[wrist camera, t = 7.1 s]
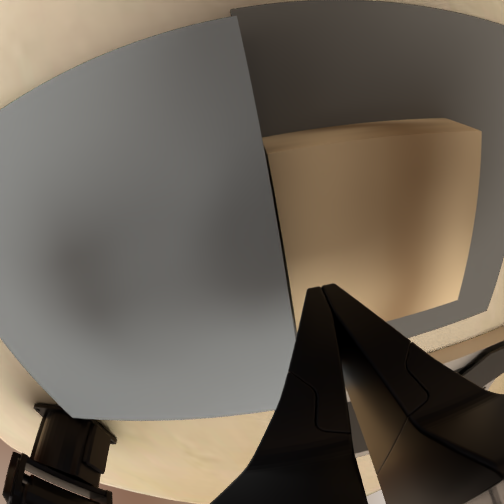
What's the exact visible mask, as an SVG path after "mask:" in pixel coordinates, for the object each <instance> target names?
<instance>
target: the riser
mask: <svg viewBox="0 0 504 504" xmlns="http://www.w3.org/2000/svg"><path fill="white" fill-rule="evenodd" d="M0 338H1V340H2V341H3V342H4V344H5V345H6V346H7V347H8V349H9V350H10V351H11V352H12V354H13V355H14V356H15V357H16V359H17V360H18V361H19V362H20V363H21V365H22V366H23V367H24V368H25V369H26V370H27V372H28V373H29V374H30V375H31V376H32V377H33V378H34V379H35V381H36V382H37V383H38V384H39V385H40V386H41V387H42V388H43V389H44V390H45V391H46V392H47V393H48V394H49V395H50V396H51V397H52V398H53V399H54V400H55V401H56V402H57V403H58V404H59V405H60V406H61V407H62V408H63V409H64V410H65V411H66V412H67V413H68V414H69V415H70V416H71V417H72V418H83V419H98V420H125V421H158V420H185V419H201V418H214V417H225V416H234V415H243V414H251V413H258V412H265V411H272V410H276V407H277V405H278V402H279V400H280V397H281V394H282V390H283V387H284V384H285V380H286V376H287V373H288V369H289V365H290V361H291V357H292V353H293V349H294V344H295V333H294V326H293V319H292V313H291V306H290V299H289V293H288V286H287V280H286V274H285V267H284V261H283V255H282V249H281V243H280V237H279V231H278V225H277V219H276V213H275V207H274V201H273V196H272V190H271V184H270V179H269V173H268V168H267V162H266V157H265V152H264V146H263V141H262V136H261V130H260V125H259V120H258V115H257V110H256V105H255V100H254V95H253V90H252V85H251V80H250V75H249V70H248V66H247V61H246V56H245V51H244V47H243V42H242V37H241V33H240V28H239V24H238V19H237V16H231V17H226V18H221V19H216V20H211V21H207V22H203V23H198V24H194V25H190V26H186V27H182V28H179V29H175V30H172V31H168V32H165V33H161V34H158V35H155V36H152V37H149V38H146V39H143V40H140V41H137V42H134V43H131V44H129V45H126V46H123V47H121V48H118V49H115V50H113V51H110V52H108V53H105V54H103V55H101V56H98V57H96V58H94V59H91V60H89V61H87V62H85V63H83V64H80V65H78V66H76V67H74V68H72V69H70V70H68V71H66V72H64V73H62V74H60V75H58V76H56V77H54V78H52V79H50V80H49V81H47V82H45V83H43V84H41V85H39V86H38V87H36V88H34V89H32V90H31V91H29V92H27V93H26V94H24V95H22V96H21V97H19V98H18V99H16V100H14V101H13V102H11V103H10V104H8V105H7V106H5V107H4V108H2V109H1V110H0Z"/></svg>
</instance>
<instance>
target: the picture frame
mask: <svg viewBox="0 0 504 504" xmlns="http://www.w3.org/2000/svg"><path fill="white" fill-rule="evenodd" d="M428 354H429V355H430V356H432V357H433V358H434V359H436V360H438V361H439V362H441V363H442V364H444V365H445V366H447V367H448V368H450V369H452V370H453V371H455V372H457V373H458V374H460V375H462V376H463V377H465V378H466V379H468V380H470V381H471V382H473V383H475V384H476V385H478V386H480V387H481V388H483V389H485V390H488V389H489V387H490V386H491V384H492V383H493V381H494V380H495V378H497V377H498V376H499V375H501V374H502V373H504V326H502V327H500V328H497V329H495V330H492V331H490V332H487V333H485V334H482V335H479V336H477V337H474V338H471V339H469V340H466V341H463V342H460V343H457V344H455V345H452V346H449V347H446V348H443V349H440V350H437V351H433V352H430V353H428ZM345 388H346V387H345ZM346 395H347V402H348V409H349V417H350V425H351V435H352V441H353V447H354V453H355V457H356V458H357V457H361V456H365V455H368V454H369V451H368V448H367V445H366V442H365V439H364V436H363V434H362V431H361V428H360V425H359V422H358V420H357V417H356V414H355V411H354V409H353V406H352V403H351V400H350V398H349V395H348V392H347V390H346Z"/></svg>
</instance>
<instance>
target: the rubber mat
mask: <svg viewBox="0 0 504 504" xmlns="http://www.w3.org/2000/svg"><path fill="white" fill-rule="evenodd" d="M230 13H231V16H237V19H238V24H239V28H240V33H241V37H242V42H243V47H244V51H245V56H246V61H247V66H248V70H249V75H250V80H251V85H252V90H253V95H254V100H255V105H256V110H257V115H258V120H259V125H260V130H261V136H262V137H268V136H273V135H279V134H285V133H291V132H297V131H304V130H310V129H317V128H325V127H332V126H340V125H349V124H358V123H368V122H379V121H392V120H407V119H427V118H447V119H450V120H453V121H455V122H458V123H461V124H464V125H467V126H469V127H472V128H475V129H477V130H480V131H482V142H481V164H480V178H479V188H478V198H477V206H476V213H475V220H474V227H473V233H472V238H471V244H470V249H469V254H468V259H467V264H466V268H465V272H464V277H463V281H462V285H461V289H460V293H459V296H458V300H456V301H453V302H450V303H447V304H444V305H441V306H438V307H435V308H431V309H428V310H425V311H422V312H418V313H415V314H411V315H408V316H404V317H401V318H397V319H394V320H390V321H386V322H387V323H388V324H390V325H391V326H392V327H393V328H395V329H396V330H397V331H399V332H400V333H401V334H403V335H404V336H405V337H406V338H410V337H413V336H416V335H419V334H423V333H426V332H429V331H432V330H435V329H438V328H441V327H444V326H447V325H450V324H452V323H455V322H458V321H461V320H464V319H466V318H469V317H472V316H474V315H477V314H479V313H482V312H484V311H487V309H488V306H489V303H490V300H491V297H492V294H493V291H494V288H495V285H496V282H497V279H498V275H499V272H500V269H501V265H502V261H503V258H504V25H501V24H498V23H495V22H491V21H488V20H484V19H481V18H477V17H473V16H469V15H465V14H461V13H457V12H452V11H447V10H442V9H437V8H431V7H425V6H418V5H411V4H403V3H393V2H382V1H366V0H310V1H294V2H282V3H272V4H264V5H256V6H249V7H243V8H237V9H231V10H230ZM291 313H292V311H291ZM292 319H293V315H292ZM293 326H294V333H295V340H296V336H297V333H296V329H295V324H294V320H293Z"/></svg>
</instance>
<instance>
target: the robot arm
mask: <svg viewBox="0 0 504 504" xmlns="http://www.w3.org/2000/svg"><path fill="white" fill-rule="evenodd" d="M345 387H346V388H345ZM346 390H347V392H348V395H349V398H350V400H351V403H352V406H353V409H354V411H355V414H356V417H357V420H358V422H359V425H360V428H361V431H362V434H363V436H364V439H365V442H366V445H367V448H368V451H369V454H370V457H371V459H372V462H373V465H374V468H375V471H376V474H377V477H378V480H379V483H380V486H381V490H382V493H383V496H384V499H385V501H386V504H504V394H497V393H493V392H490V391H488V390H485V389H483V388H481V387H480V386H478V385H476V384H475V383H473V382H471V381H470V380H468V379H466V378H465V377H463V376H462V375H460V374H458V373H457V372H455V371H453V370H452V369H450V368H448V367H447V366H445V365H444V364H442V363H441V362H439V361H438V360H436V359H434V358H433V357H432V356H430V355H429V354H428V353H426V352H425V351H424V350H422V349H421V348H420V347H418V346H417V345H416V344H414V343H413V342H411V341H410V340H409V339H408V338H406V337H405V336H404V335H403V334H401V333H400V332H399V331H397V330H396V329H395V328H393V327H392V326H391V325H390V324H388V323H387V322H386V321H384V320H383V319H382V318H380V317H379V316H378V315H376V314H375V313H374V312H372V311H371V310H370V309H368V308H367V307H366V306H365V305H363V304H362V303H361V302H359V301H358V300H357V299H355V298H354V297H353V296H351V295H350V294H349V293H347V292H346V291H345V290H343V289H342V288H341V287H339V286H338V285H336V284H335V283H331V284H327V285H322V287H320V286H317V287H312V288H308V289H307V291H306V296H305V300H304V305H303V309H302V314H301V318H300V323H299V327H298V332H297V336H296V340H295V344H294V349H293V353H292V357H291V361H290V365H289V369H288V373H287V376H286V380H285V384H284V387H283V390H282V394H281V397H280V400H279V402H278V405H277V407H276V410H275V412H274V415H273V417H272V419H271V421H270V423H269V425H268V428H267V430H266V432H265V434H264V436H263V438H262V440H261V442H260V444H259V446H258V448H257V450H256V452H255V454H254V456H253V458H252V459H251V461H250V463H249V464H248V466H247V467H246V468H245V470H244V471H243V472H242V473H241V474H240V475H239V476H238V477H237V478H236V479H235V480H234V481H233V482H232V483H231V484H230V485H229V486H228V487H227V488H226V489H225V490H224V491H223V492H222V493H221V494H220V495H219V496H218V497H217V498H215V499H214V500H213V501H212V502H211V503H210V504H368V502H367V498H366V494H365V490H364V487H363V483H362V479H361V475H360V472H359V468H358V465H357V461H356V457H355V453H354V447H353V441H352V435H351V425H350V417H349V409H348V402H347V395H346ZM34 409H35V410H36V411H37V412H38V413H39V414H40V415H41V416H42V417H43V418H42V421H41V424H40V427H39V430H38V433H37V436H36V440H35V443H34V446H33V450H32V453H31V457H30V458H29V457H28V455H26V454H24V453H22V454H18V453H16V452H13V454H12V457H11V460H10V464H9V468H8V472H7V475H6V480H5V485H4V489H3V494H2V495H3V496H4V498H5V500H6V502H7V504H112V492H111V491H108V490H103V489H100V488H98V487H99V481H100V475H101V474H104V472H105V467H106V462H107V456H108V451H109V446H110V444H116V442H117V439H116V438H115V437H113V436H112V435H111V434H110V433H109V432H108V431H107V430H105V429H104V428H103V427H102V426H101V425H100V424H99V423H98V422H97V421H96V420H95V419H83V418H72V417H71V416H70V415H69V414H68V413H67V412H66V411H65V410H64V409H63V408H62V407H61V406H55V405H45V404H35V405H34ZM25 470H26V471H28V472H30V473H32V474H35V475H36V476H39V477H41V478H43V479H45V480H47V481H49V482H51V483H53V484H56V485H58V486H60V487H63V488H65V489H68V490H70V491H73V492H75V493H78V494H81V495H83V496H86V497H88V498H90V499H88V498H85V497H83V496H80V495H77V494H75V493H72V492H70V491H67V490H65V489H62V488H60V487H58V486H56V485H53V484H51V483H49V482H46V481H44V480H42V479H40V478H38V477H36V476H34V475H31V476H29V475H27V474H25V473H24V471H25Z"/></svg>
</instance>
